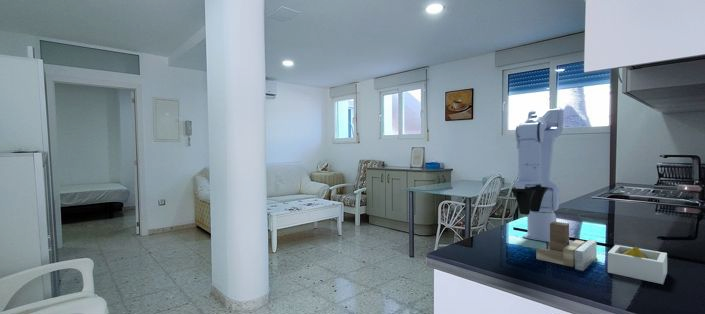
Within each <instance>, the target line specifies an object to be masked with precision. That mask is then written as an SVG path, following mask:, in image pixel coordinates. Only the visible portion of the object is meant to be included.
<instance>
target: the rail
mask: <svg viewBox="0 0 705 314" xmlns="http://www.w3.org/2000/svg"><path fill="white" fill-rule="evenodd" d="M597 252H598V251H597V240H595V239H588V240H586V241H585V243H584V244H583V245H581V246H580V247H579V248H577V249H576V250H575V266H574V270H576V271H580V272H581V271H582V272H584V271H585V270H586V269H587V268H588V267H589V266H590V265H591V264H592V263H593V262H594V261H595V260H596V259H598V258H597V254H598V253H597Z"/></svg>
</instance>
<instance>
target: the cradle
mask: <svg viewBox="0 0 705 314" xmlns="http://www.w3.org/2000/svg"><path fill="white" fill-rule="evenodd" d="M585 242H586V241H584V240H580V239H575V240H573V241H572V242H570V243H569V245H568V246H566V247H565V248H563V252H559V251H554V250H550V242H547V248H544V247H538V248H537V249H536V251H535V252H536V254H535V256H536V260H539V261H545V262H549V263H553V264H558V265H562V266H566V267H571V268H575V250H576V249H577V248H579V247H580V246H581V245H583V244H584V243H585Z"/></svg>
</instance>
